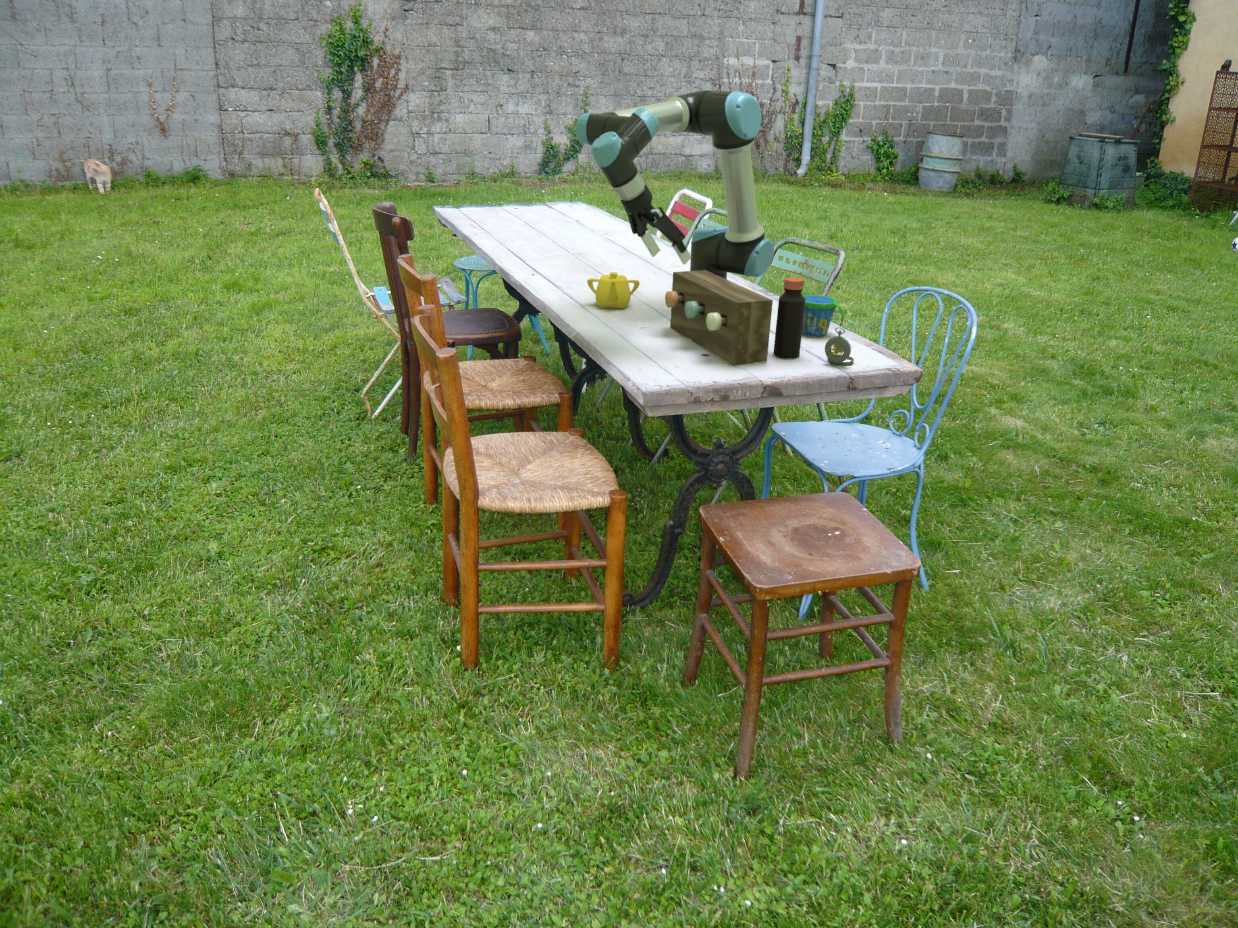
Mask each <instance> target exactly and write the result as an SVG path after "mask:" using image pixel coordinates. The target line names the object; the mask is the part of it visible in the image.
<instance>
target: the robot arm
mask: <svg viewBox="0 0 1238 928" xmlns="http://www.w3.org/2000/svg"><path fill="white" fill-rule="evenodd" d="M762 115H763V114H762V110H761V105H760V104H759V101H758V99H757V98H756V97H755V96H753V95H752V94H750V93H747V92H741V91H739V90H738V91H722V90H708V89H707V90H706V89H705V90H697V91H693V92H689V93H683V94H679V95H675V96H670V97H669V98H667V99H666V100H665V101H664V102H659V103H653V104H647V105H642V106H636V107H635V106H634V107H630V108H629V107H628V108H625V109H624V108H623V109H619V110H613V111H608V112H602V113H594V112H590V113H589V112H588V113H587V112H586V113H585V112H584V113H582V114H581V115H580V116H579V117H578V118H577V120H576V122H575V125H574V126H575V127H574V129H575V136H576V138H577V140H578V141H579V142H580V143H581V144H585V145H588V146H591V147H590V151H591V154H592V156H593V158H594V159H595V162H596V164H597V166H598V167H599V168H600V170H601V172H602V173H603V175H604V177H605V179H607V181H608V183H609V184H610V186H611V187H612V189H613V190H614V195H615V196H617V197H618V199H619V200H620V203H621V204H622V207H624V211H625V213H626V215H627V217H628V221H629V226H630V228H631V229H630V230H631V232H632V234H633V235H637V236H638V237H639V238H640V239H641V240H642V242H643V244H644V245H645V247H646V249H647V250H648V252H649V254H650V255H651V257H652V258H655V257H656V255H658V253H659V252H661V248H660V247H659V245H658V243H657V242H656V241H655V238H654V237H653V235H652V233H651V232H650V231H648V230H649V228H648V227H647V226H648V225H649V226H651V227H652V228H654V229H655V228H656V229H657V230H658V231H659V232H660V233H661V234H662V235H663V236H664V237H665V238H666V239H667V240H668V241H670V242H671V247H672V248H673V250H674V251H675V253H676V255H677V256H678V258H679V260H680V261H681V263H682V264H683V265H684V266H685V265H686V264H687V263H688V262H689V261H690V262H689V263H690V265H689V266H690V267H689V268H690V269H689V271H697V270H706V271H708V272H711V273H713V274H715V275H717V276H720V277H722V278H724V279H726V280H728V273H730V274H731V273H732V274H737V275H740V276H744V277H749V278H750V277H752V278H753V277H754V278H760V277H762V276H763V275H764V274H765V273H767V271H768V270H769V268H770V267H771V264H772V261H773V259H774V253H775V246H774V242H773V241H772V240H771V239H769V238H766V237H765V229H764V227H763V226H762V225H761V224H759V220H758V210H757V200H756V199H757V198H756V191H755V181H754V172H753V171H754V170H753V162H752V161H753V160H752V153H751V146H752V144H754V142H755V141H756V136H758V134H759V132H760V130H761V124H762V120H763V119H762V118H763V116H762ZM666 132H671V133H673V134H679V133H689V134H698V135H703V136H711V138H712V139H711V140H712V146H713V148H714V149H716V150H717V151H718V152H719V157H720V164H721V173H722V181H723V189H724V197H725V205H726V214H727V215H726V216H727V221H728V225H727V226H725V225H716V226H712V225H711V226H705V227H704V226H703V227H697V228H695V229H694V230H693V232H692V235H691V242H690V244H691V245H690V252H689V250H688V248H687V247H686V245H685V243H684V242H683V240H684V239H685V238H686V235H685V234H684V233H683V232H682V230H681V229H680V228H679V227H678V226H677V225H676V223H674V222H673V220H672V219H670V217H669V216H668V215H667V213H666V212H665V211H664V209H663V208H662V207H661V206H658V207H657V208H656V207H655V206H654V205H653V204H652V201H653V194H652V192H651V191H650V189H649V187H648V185H647V184H646V182H645V180H644V178H643V176H642V175H641V173H640V171H639V169H638V167H637V166H636V164H635V162H634V160H635V159H636V158H637V157H638V156H639V155H640V154H641V153H642V151H643V150H644V149H645V148H646V147H647V146H648V144H649V143H651V142H652V141H653V138H654V137H655V136H656V134H661V133H666ZM647 224H648V225H647Z"/></svg>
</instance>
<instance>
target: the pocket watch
mask: <svg viewBox="0 0 1238 928" xmlns="http://www.w3.org/2000/svg"><path fill="white" fill-rule="evenodd" d="M838 329H841V330H839V331H838ZM834 330H835V332H836V333H837V334H838V335H836V336H832V337H830V338H829V339H828V340H827V342H826V343H825V345H824V353H825V355H826V357H827V361H828V362H829V363H833V364H834V363H835V365H841V364H847V365H851V364H853V363H854V360H855V358H853V357H852V356H851V352H852V346H851V344H850V342H849V340H848V339H846V338H845V337H843V336H842V335H843V334H845V333H846V330H845V328H842V327H840V326H839V327H836V328H834ZM842 330H843V332H842ZM846 359H847V360H851V361H850V362H843V361H845V360H846Z"/></svg>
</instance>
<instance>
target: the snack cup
mask: <svg viewBox="0 0 1238 928" xmlns="http://www.w3.org/2000/svg"><path fill="white" fill-rule="evenodd" d="M802 295H803V294H802ZM803 297H804V298H805V310H804V318H803V327H802V335H804V336H806V337H807V336H808V337H817V338H822V337H825V336H827V335H828V332H829V329H830V325H831V321H832V318H833V315H834V312H835V310H836V308H838V310H839V312H840V314H841V319H840V324H838V325H839V328H842V327H841V326H843V323H844V320H845V310H844V308H843V306H842V304H840V303H839V302H838V301H837V299H835V298H834V297H830V296H827V295H820V294H804V295H803Z"/></svg>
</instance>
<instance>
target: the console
mask: <svg viewBox="0 0 1238 928" xmlns="http://www.w3.org/2000/svg"><path fill="white" fill-rule="evenodd" d="M671 286H672V288H671V291H676V292H677V294H678V296H681V295H684V301H680V302H678V306H677V307H670V308H671V309H670V326H669V329H671V330H673V331H674V332H676V333H678V334H679V335H681V336H683V338H684V337H685V338H686V339H688V340H689V339H690V341H691V342H693V343H695V344H697V345H698V346H699V347H701V348H702V349H704V350H706V351H708V352H710V353H711V354H713V355H715V356H716V357H717V358H720V359H721V360H722V361H725V362H726V363H728V364H730V365H732V366H738V365H739V366H741V365H747V364H755V363H754V362H758V363H764V362H763V361H767V362H768V354H769V352H768V351H769V343H770V331H771V325H772V324H771V323H772V313H773V302H774V300H773V299H772V298H769V297H767V296H765V295H763V294H760V293H758V292H755V291H754V290H751V289H748V288H747V287H744V286H742V285H741V284H737V283H735V282H733V281H730V280H728V279H727V280H726V279H724V278H722V277H720V276H717V275H715V274H713V273H711V272H708V271H706V270H697V271H690V270H686V271H684V270H683V271H673V272H672V285H671ZM690 301H696V302H697V303H698V306H705V312H699V315H698V317H697V318H690V319H688V318H687V317H686V315H685V304H686V302H690ZM715 312H717V313H719V314H720V316H721V318H723V317H727V324H721V327H720V329H719V330H712V331H710V330H709V329H708V328H707V325H706V317H707V314H708V313H715Z"/></svg>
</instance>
